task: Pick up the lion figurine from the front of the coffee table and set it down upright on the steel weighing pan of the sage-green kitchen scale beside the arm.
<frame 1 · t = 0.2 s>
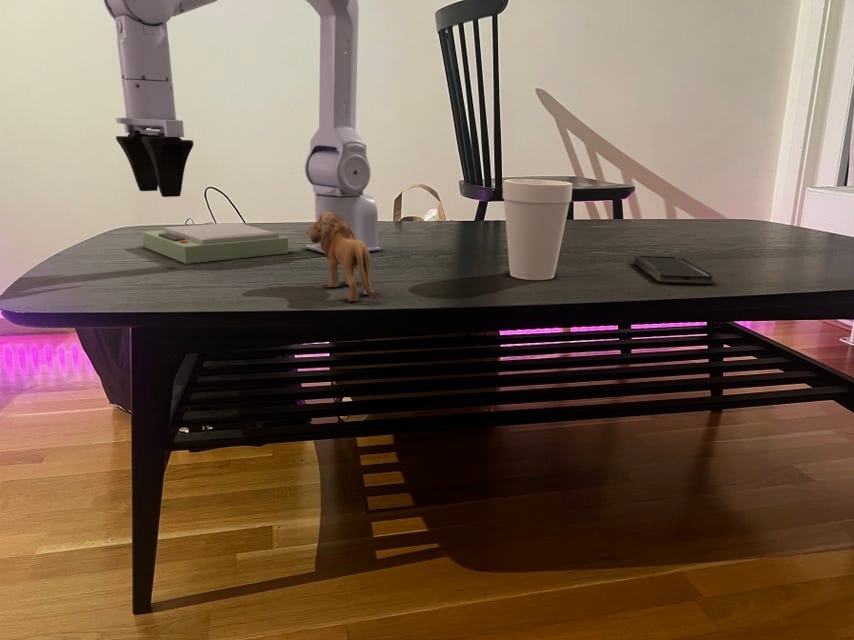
hand: (159, 193, 91), 10 cm above the table, tool pointing down, fingers open, 7 cm apart
lion figurine: (344, 292, 87), on the table
foam cup: (531, 276, 100), on the table
kitchen scale: (216, 250, 109), on the table
phone: (670, 273, 105), on the table
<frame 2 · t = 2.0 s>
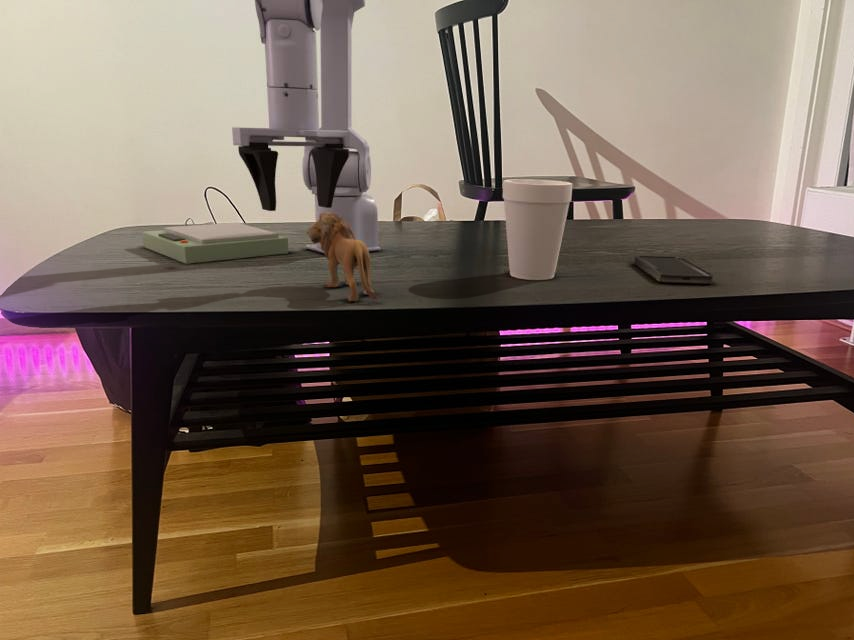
hand: (297, 208, 85), 10 cm above the table, tool pointing down, fingers open, 7 cm apart
nothing on the table moved.
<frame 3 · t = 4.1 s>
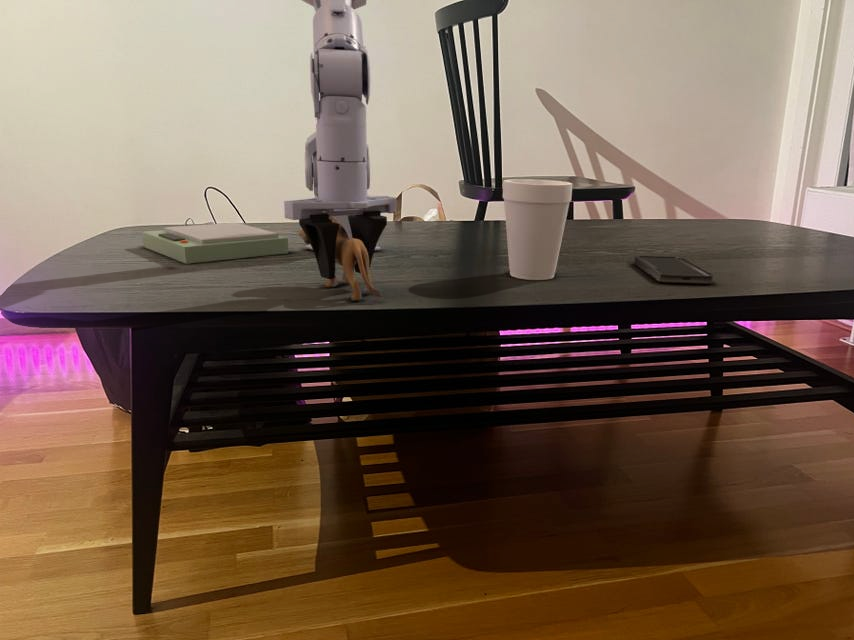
hand: (344, 275, 86), 2 cm above the table, tool pointing down, fingers closed on lion figurine, 4 cm apart
lion figurine: (344, 290, 87), on the table, touching gripper
everything else where it was.
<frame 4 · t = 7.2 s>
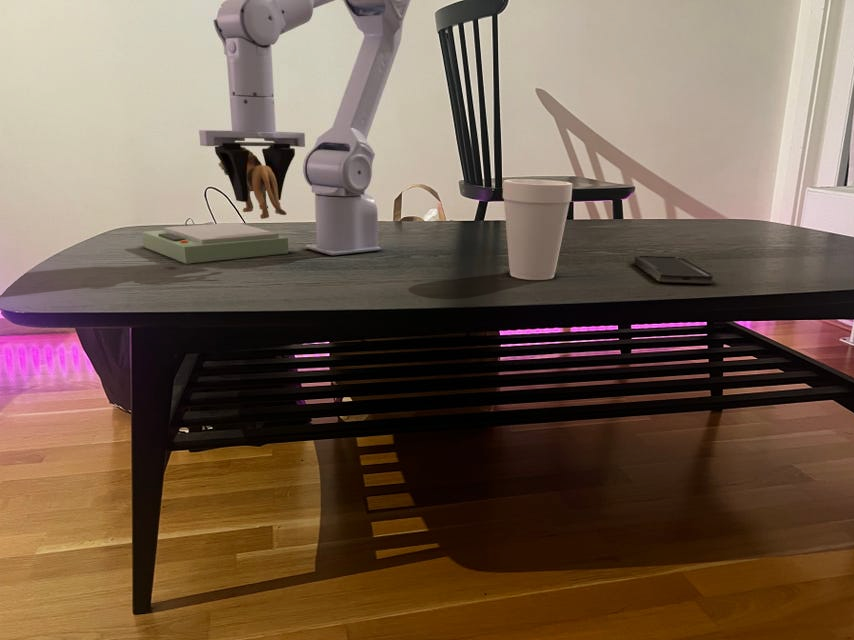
hand: (258, 200, 98), 9 cm above the table, tool pointing down, fingers closed on lion figurine, 4 cm apart
lion figurine: (259, 214, 99), point 7 cm above the table, touching gripper
everything else where it was.
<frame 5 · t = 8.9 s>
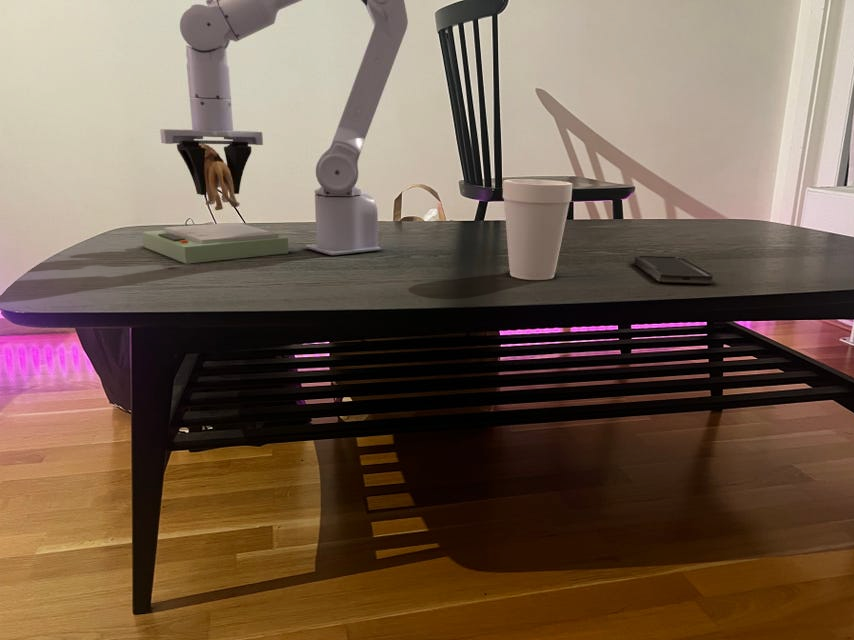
hand: (218, 193, 107), 9 cm above the table, tool pointing down, fingers closed on lion figurine, 4 cm apart
lion figurine: (218, 206, 108), point 7 cm above the table, touching gripper
everything else where it was.
when the fingers open (5 cm above the table, at t = 10.5 s): lion figurine stays where it is, resting on kitchen scale.
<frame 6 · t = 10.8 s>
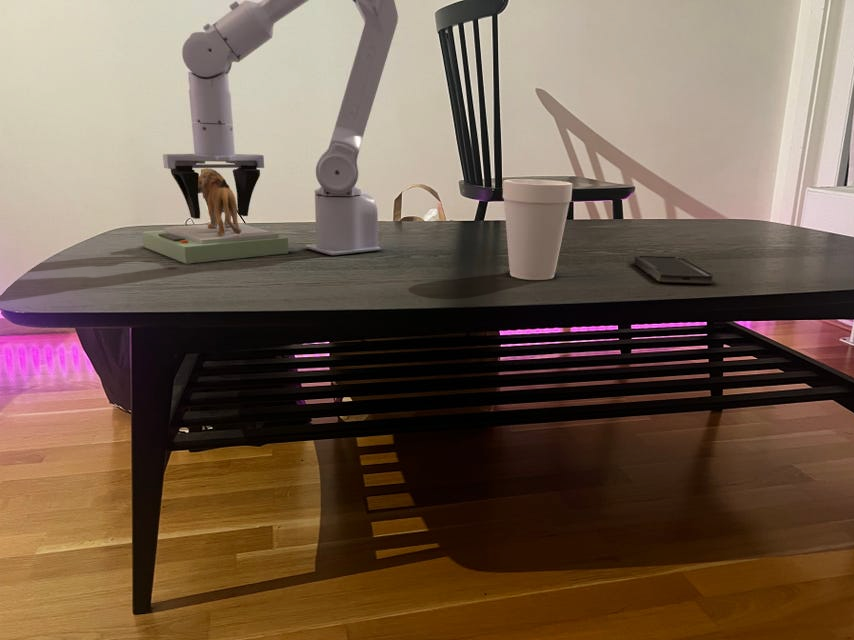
hand: (219, 216, 108), 5 cm above the table, tool pointing down, fingers open, 7 cm apart
lion figurine: (220, 231, 109), point 3 cm above the table, touching kitchen scale
everything else where it was.
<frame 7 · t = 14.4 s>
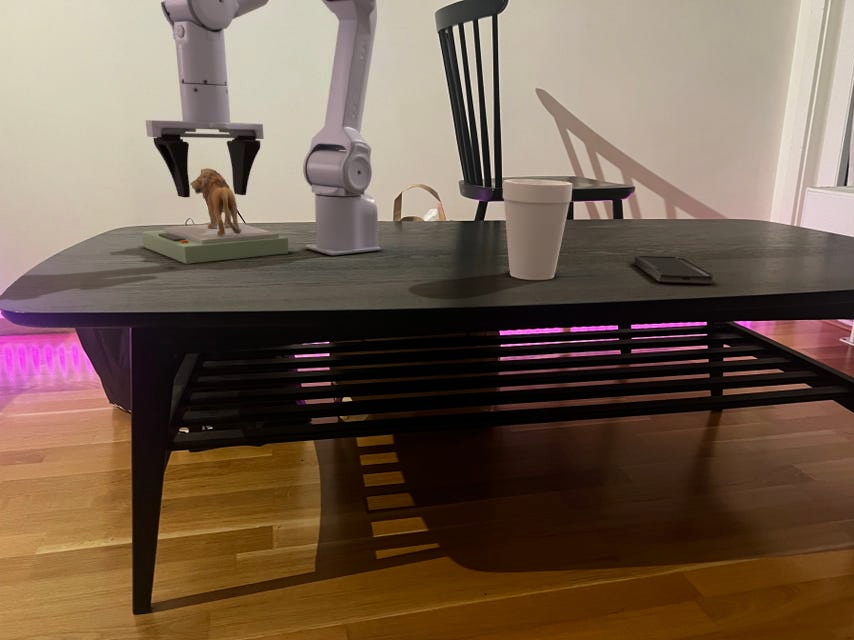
hand: (212, 195, 92), 10 cm above the table, tool pointing down, fingers open, 7 cm apart
nothing on the table moved.
at the end: lion figurine inside the target area on the kitchen scale (0.2 cm from its centre), point 2.8 cm above the kitchen scale's base; lion figurine tilted 0°; the gripper is holding nothing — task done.
